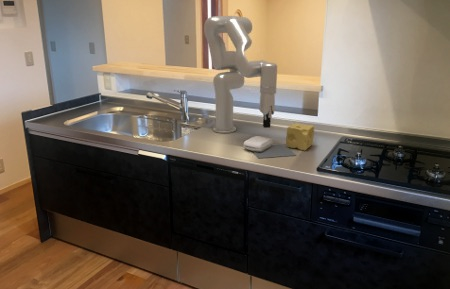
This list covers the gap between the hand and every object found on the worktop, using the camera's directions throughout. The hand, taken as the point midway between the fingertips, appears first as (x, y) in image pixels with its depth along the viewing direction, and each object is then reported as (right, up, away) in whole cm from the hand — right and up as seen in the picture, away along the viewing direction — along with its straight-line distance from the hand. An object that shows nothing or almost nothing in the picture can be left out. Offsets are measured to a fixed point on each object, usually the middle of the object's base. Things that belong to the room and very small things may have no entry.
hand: (266, 127), depth 194 cm
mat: (+2, -12, -5) cm, 13 cm away
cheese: (+16, -9, +1) cm, 18 cm away
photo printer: (-1, -6, +2) cm, 7 cm away
